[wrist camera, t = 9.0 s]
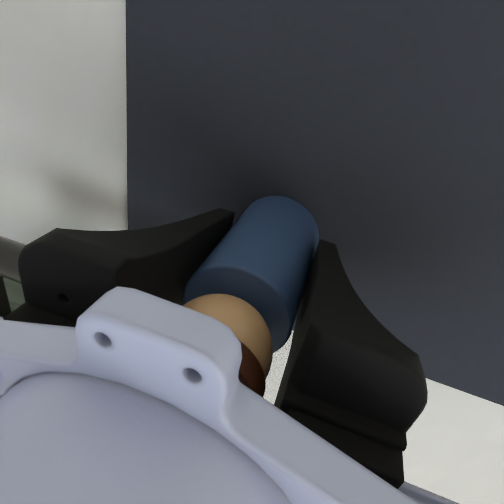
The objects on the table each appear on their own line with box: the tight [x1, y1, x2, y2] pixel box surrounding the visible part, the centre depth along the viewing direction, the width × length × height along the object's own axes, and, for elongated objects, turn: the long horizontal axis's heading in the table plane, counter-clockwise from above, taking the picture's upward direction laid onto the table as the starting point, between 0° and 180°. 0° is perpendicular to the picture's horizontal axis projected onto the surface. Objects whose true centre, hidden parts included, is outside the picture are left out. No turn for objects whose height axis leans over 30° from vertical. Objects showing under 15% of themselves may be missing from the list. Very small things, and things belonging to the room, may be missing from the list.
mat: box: [126, 0, 504, 406], centre depth 14 cm, size 14×20×1 cm
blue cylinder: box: [183, 196, 319, 398], centre depth 11 cm, size 3×3×8 cm
